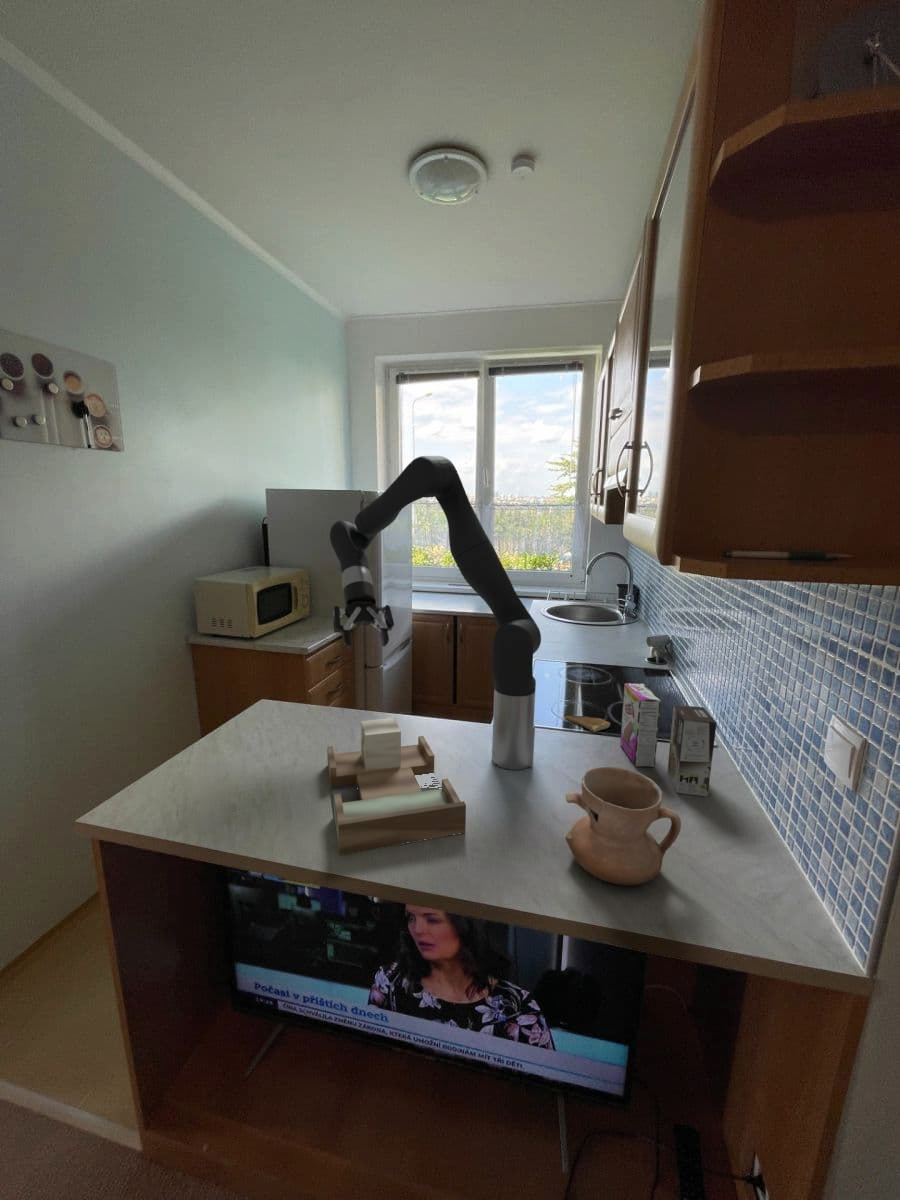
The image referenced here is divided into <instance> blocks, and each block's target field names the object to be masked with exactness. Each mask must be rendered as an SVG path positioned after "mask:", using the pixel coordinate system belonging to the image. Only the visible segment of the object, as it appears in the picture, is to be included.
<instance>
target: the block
mask: <svg viewBox="0 0 900 1200" xmlns="http://www.w3.org/2000/svg"><path fill="white" fill-rule="evenodd" d="M401 746H402V731H401V728H400V726H399V724H398V722H397V720H396V718H395V717H389V718H379V719H377V718H376V719H368V720H367V719H366V720H360V751H361V756H362V760H363V763H364V767H365V771H370V770H378V769H386V768H393V767H401Z"/></svg>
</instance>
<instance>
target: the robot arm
mask: <svg viewBox="0 0 900 1200" xmlns="http://www.w3.org/2000/svg"><path fill="white" fill-rule="evenodd" d="M423 498H426V499H427V498H430V499H431V498H435V500H437V502H438V504H439V505H440V508H441V510H442V511H443V513H444V515H445V518H446V521H447V526H448V527H447V528H448V541H449V550H450V553H451V555H452V558H453V560H454V562H455V564H456V566H457V568H458V570H459V572H460V573H461V575H462V577H463V579H464V580H465V582H466V583H467V584H468V585H469V586H470V587H471V588H472V590H473V591H474V592H475V593H476V594H477V595H478V596H480V598H481V599H482V600H483V601H484V602H485V604H486V605H487V606H488V607H489V609H490V611H491V612H492V615H493V616H494V618H495V621H496V623H497V625H498V628H497V629H496V630H495V632H494V635H493V638H492V643H491V644H492V645H491V648H492V649H491V653H492V654H491V674H492V678H493V683H494V685H493V686H494V688H493V689H494V690H493V718H492V720H493V721H492V743H491V744H492V745H491V761H492V760H493V761H492V762H493V764H494V765H496V764H497V765H498V766H497V765H496V766H497V767H499V766H501V767H500V768H502V767H503V768H502V769H505V768H506V769H505V770H510V771H511V770H512V771H513V770H515V771H516V770H524V769H526V768H527V769H528V768H533V767H534V757H535V756H534V754H535V733H536V732H535V731H536V727H535V723H534V721H535V708H536V707H535V703H536V689H537V687H536V685H537V684H536V678H535V676H534V675H533V673H534V672H533V669H534V667H533V665H534V654H535V653H536V652H538V649H539V648H540V646H541V644H542V635H541V631H540V628H539V626H538V624H537V623H536V621H535V620H534V619H533V617H532V615H531V614H530V613H529V611H528V610H527V608H526V606H525V605H524V604H523V602H522V600H521V599H520V597H519V596H518V594H517V592H516V590H515V588H514V585H513V584H512V581H511V580H510V578H509V576H508V573H507V572H506V570H505V567H504V566H503V563H502V561H501V560H500V557H499V556H498V554H497V550H496V549H495V547H494V545H493V543H492V542H491V540H490V539H489V537H488V535H487V533H486V531H485V529H484V528H483V526H482V524H481V522H480V520H479V517H478V516H477V514H476V512H475V510H474V509H473V505H472V504H471V501H470V500H469V497H468V495H467V493H466V490H465V487H464V485H463V482H462V480H461V477H460V475H459V473H458V470H457V469H456V466H455V465H454V463H453V462H452V461H451V460H450V459H449V458H447V457H446V456H443V455H421V456H418V457H415V458H414V459H413V460H412V461H410V462H409V464H407V466H406V467H404V469H403V470H402V472H401V473H400V474H398V477H397V478H395V480H394V481H393V482H392V483H391V484H390V485H389V486H388V487H387V489H385V491H384V492H383V493H382V494H381V495H379V496H378V497H377V498H376V499H374V500H373V501H372V502H370V503H369V504H367V505H366V506H365V507H364V508H363V509H362V510H360V511H359V512H358V513H356V516H355V518H354V523H352V522H349V521H346V520H342V519H341V520H337V521H336V522H334V523H333V525H332V526H331V528H330V531H329V541H330V544H331V547H332V549H333V550H334V551H333V552H334V553H335V555H336V557H337V559H338V561H339V563H340V571H341V585H342V587H341V588H342V591H343V599H344V607H345V608H343V607H342V608H340V607H339V605H335V606H334V608H333V612H332V620H333V621H332V622H333V623H332V625H333V632H334V633H335V634H337V633H340V634H342V639H343V640H342V641H343V645H344V647H346V649H351V647H352V640H351V639H352V637H351V631H350V630H351V629H352V628H353V626H354V625H356V626H370V625H372V626H373V627H374V629H377V630H378V631H379V632H380V634H379V635H380V640H381V646H382V647H387V645H388V643H389V641H390V638H389V633H388V632H390V631H392V630H393V628H394V625H395V623H394V618H393V614H392V610H391V606H390V605H387V604H386V605H385V606H383V607H382V606H381V607H379V606H378V605H377V600H376V595H375V588H374V582H373V578H372V575H371V572H370V565H369V561H368V556H367V555H366V553H365V552H364V551H366V550H367V549H368V548H369V546H370V545H371V543H372V541H374V539H375V537H376V536H377V535H378V534H379V533H380V532H382V531H383V530H385V529H387V528H388V527H389V526H390V525H391V524H392V523H393V522H394V521H395V520H396V519H397V518H398V515H399V514H400V513H401V511H402V510H403V509H404V508H405V507H407V506H408V505H409V504H412V503H414V502H416V501H418V500H420V499H423ZM378 614H381V617H380V615H378ZM343 615H345V617H347V618H348V619H347V621H346V623H345V624H344V625H341V618H342V616H343ZM382 617H383V618H384V621H383V620H382Z"/></svg>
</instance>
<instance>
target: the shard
mask: <svg viewBox="0 0 900 1200" xmlns="http://www.w3.org/2000/svg"><path fill="white" fill-rule="evenodd" d="M564 717H565V720H567V721H570V723H571V722H572V723H574V724H575V725H579V726H581V727H582V728H585V729H587V730H589V731H591V732H593V733H596V732H598V731H602V730H606V729H608V728H609V727H610V726H611V722H609V721H606V720H604V719H602V718H601V717H593V716H586V715H585V716H584V715H583V716H582V715H569V714H568V715H567V714H564Z"/></svg>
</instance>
